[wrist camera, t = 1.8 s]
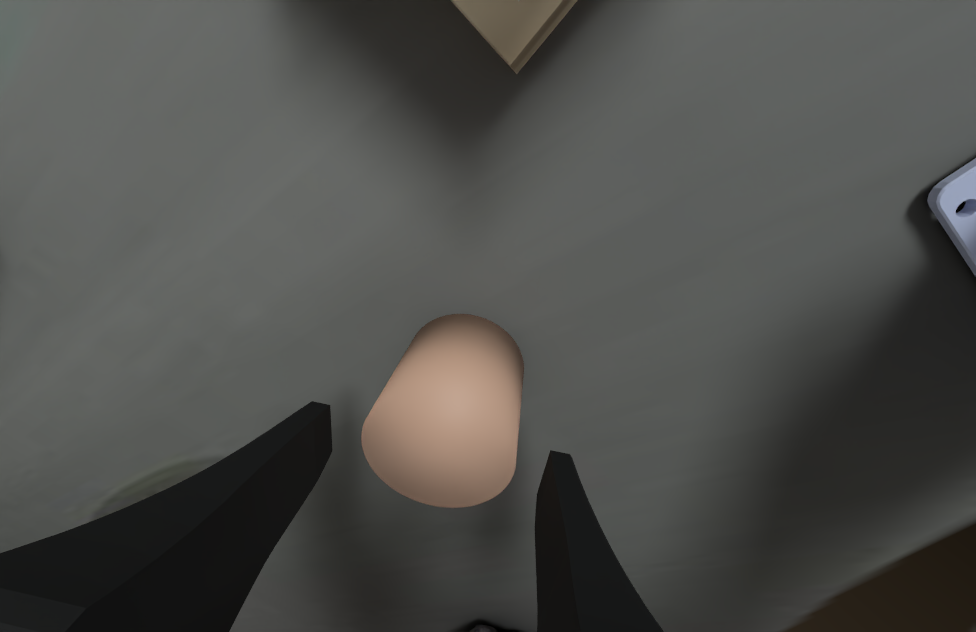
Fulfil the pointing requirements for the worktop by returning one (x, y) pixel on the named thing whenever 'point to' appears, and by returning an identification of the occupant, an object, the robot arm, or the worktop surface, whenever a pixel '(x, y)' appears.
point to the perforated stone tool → (483, 629)
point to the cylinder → (449, 414)
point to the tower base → (515, 24)
